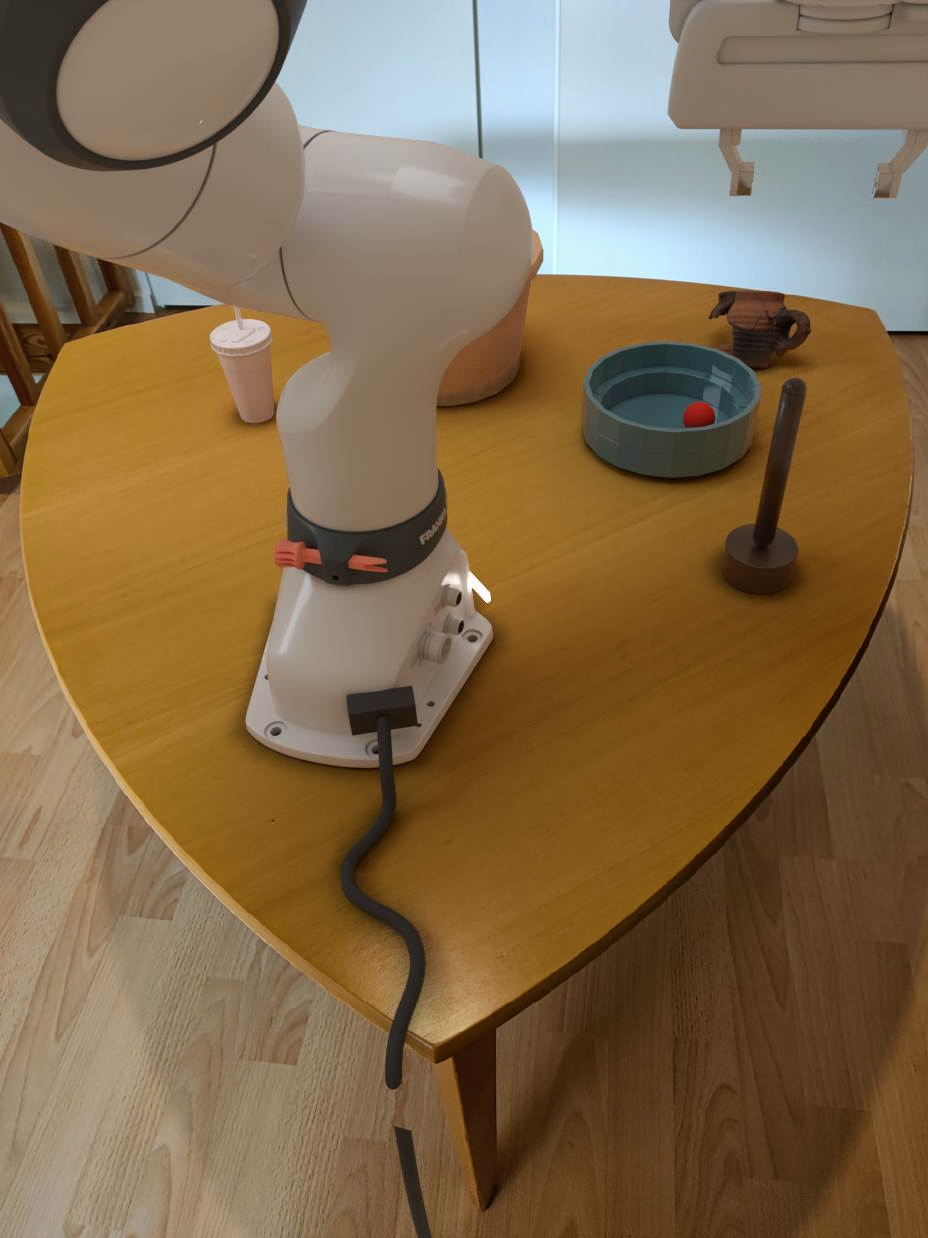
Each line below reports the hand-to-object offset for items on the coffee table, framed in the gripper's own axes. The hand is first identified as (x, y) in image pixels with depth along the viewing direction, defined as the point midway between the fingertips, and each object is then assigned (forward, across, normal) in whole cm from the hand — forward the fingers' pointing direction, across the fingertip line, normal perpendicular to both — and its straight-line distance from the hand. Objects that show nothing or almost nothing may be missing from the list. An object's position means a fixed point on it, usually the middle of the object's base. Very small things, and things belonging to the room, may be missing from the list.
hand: (810, 193), depth 68 cm
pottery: (+31, -34, +26) cm, 53 cm away
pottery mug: (+32, 0, +35) cm, 47 cm away
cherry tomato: (+29, -5, +16) cm, 33 cm away
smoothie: (+30, -53, +14) cm, 62 cm away
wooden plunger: (+31, 0, -4) cm, 31 cm away
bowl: (+31, -9, +16) cm, 36 cm away
